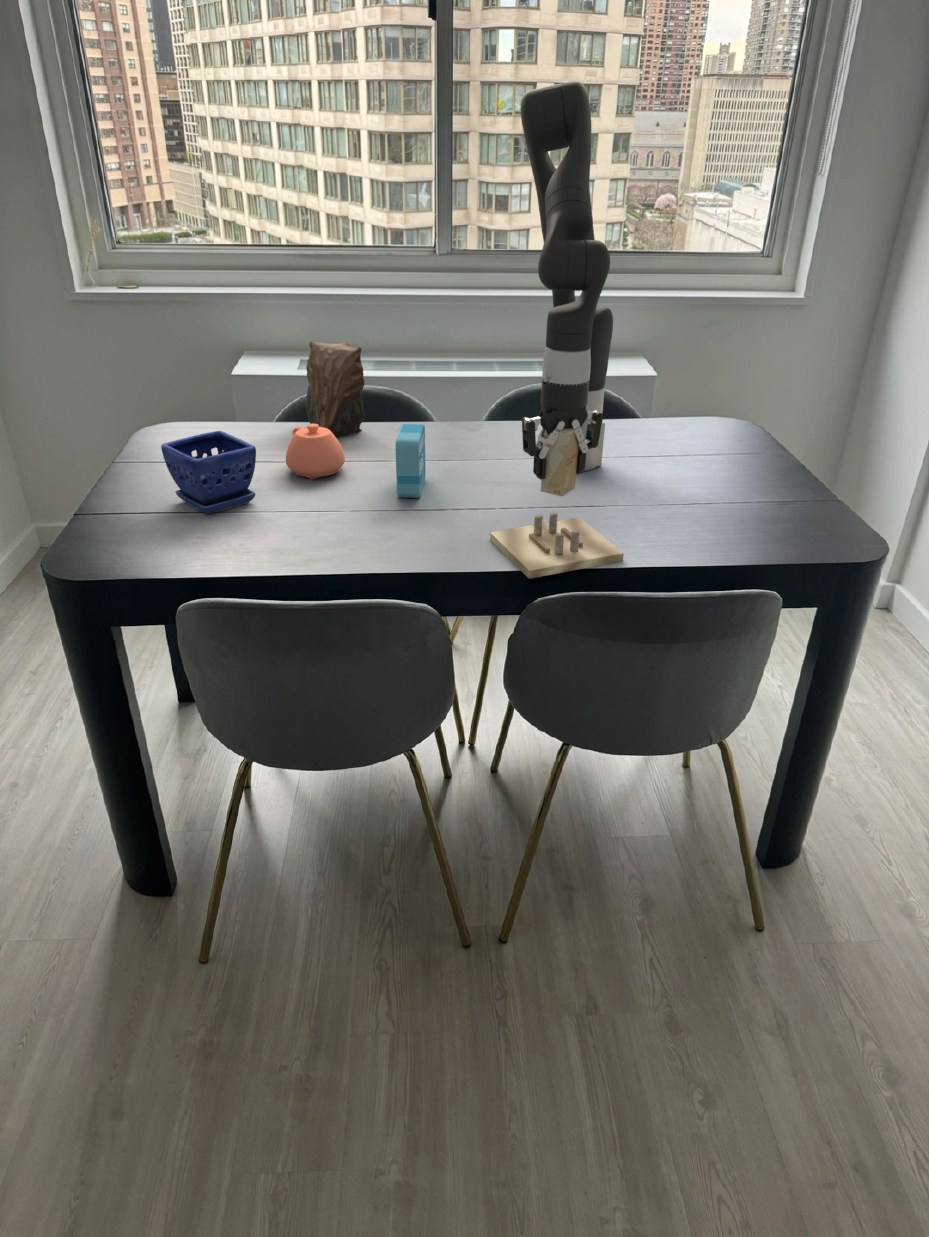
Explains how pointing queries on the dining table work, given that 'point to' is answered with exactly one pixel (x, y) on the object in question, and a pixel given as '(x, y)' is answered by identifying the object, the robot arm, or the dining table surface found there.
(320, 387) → the owl
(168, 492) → the dining table surface
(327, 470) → the sugar bowl
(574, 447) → the box
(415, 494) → the data package
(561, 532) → the tray
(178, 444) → the flower pot
